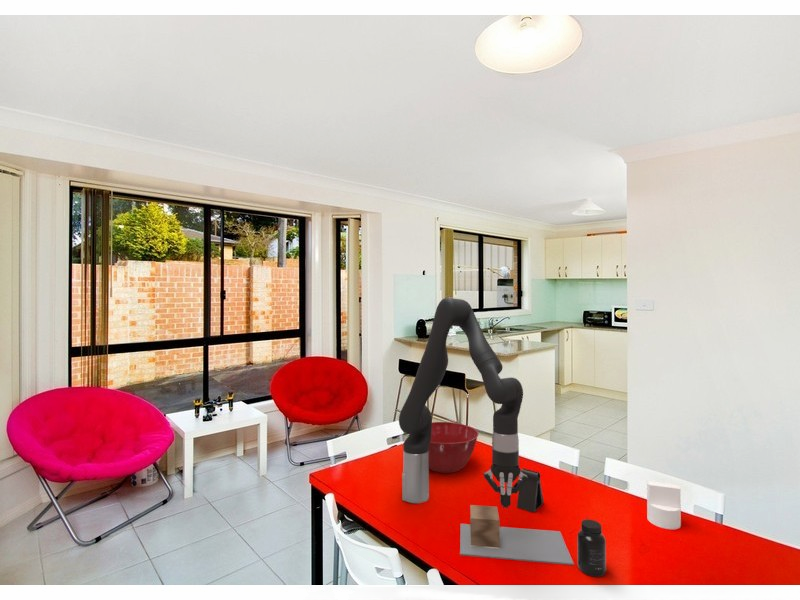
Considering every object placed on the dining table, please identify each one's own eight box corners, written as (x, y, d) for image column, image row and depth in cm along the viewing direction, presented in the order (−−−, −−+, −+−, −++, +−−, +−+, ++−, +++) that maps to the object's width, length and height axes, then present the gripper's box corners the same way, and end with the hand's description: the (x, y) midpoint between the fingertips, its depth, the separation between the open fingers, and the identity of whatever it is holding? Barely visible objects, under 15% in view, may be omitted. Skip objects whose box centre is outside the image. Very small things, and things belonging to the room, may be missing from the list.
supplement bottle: (572, 561, 113) (572, 517, 113) (596, 560, 113) (596, 516, 114) (586, 578, 106) (585, 531, 106) (611, 577, 107) (611, 529, 107)
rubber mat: (460, 555, 116) (460, 553, 116) (460, 524, 132) (460, 523, 132) (573, 565, 111) (573, 563, 111) (560, 532, 127) (560, 531, 127)
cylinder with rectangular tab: (675, 518, 136) (675, 481, 136) (684, 532, 127) (684, 493, 127) (644, 513, 139) (644, 477, 139) (650, 527, 130) (650, 488, 130)
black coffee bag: (533, 513, 139) (533, 477, 139) (516, 507, 143) (516, 472, 143) (543, 503, 146) (543, 469, 146) (527, 498, 150) (527, 464, 150)
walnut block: (470, 546, 119) (470, 518, 120) (470, 531, 127) (470, 504, 127) (499, 548, 118) (499, 520, 118) (497, 533, 126) (497, 506, 126)
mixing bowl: (484, 481, 164) (484, 442, 164) (411, 481, 164) (411, 441, 165) (472, 455, 192) (472, 421, 192) (410, 455, 193) (410, 421, 193)
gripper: (482, 450, 119) (483, 511, 119) (530, 452, 117) (531, 514, 117) (481, 441, 127) (481, 499, 127) (526, 443, 125) (527, 502, 125)
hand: (505, 506), depth 122 cm, fingers closed
